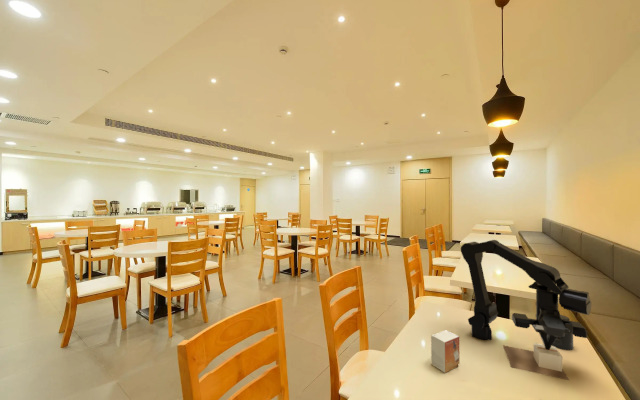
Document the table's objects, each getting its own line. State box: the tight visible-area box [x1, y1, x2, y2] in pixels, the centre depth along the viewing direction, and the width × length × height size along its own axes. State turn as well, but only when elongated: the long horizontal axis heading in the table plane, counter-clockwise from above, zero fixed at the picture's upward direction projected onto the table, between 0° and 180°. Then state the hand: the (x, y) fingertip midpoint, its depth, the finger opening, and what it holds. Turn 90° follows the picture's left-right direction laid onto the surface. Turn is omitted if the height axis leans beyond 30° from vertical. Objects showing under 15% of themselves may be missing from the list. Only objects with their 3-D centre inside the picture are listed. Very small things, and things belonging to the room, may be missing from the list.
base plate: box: [502, 345, 570, 381], centre depth 91 cm, size 15×14×1 cm
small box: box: [430, 329, 461, 374], centre depth 91 cm, size 8×6×10 cm
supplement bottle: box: [552, 314, 574, 351], centre depth 100 cm, size 7×7×12 cm
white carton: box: [533, 342, 563, 372], centre depth 89 cm, size 6×6×5 cm
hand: (547, 349), depth 89 cm, fingers closed, pressing on white carton
